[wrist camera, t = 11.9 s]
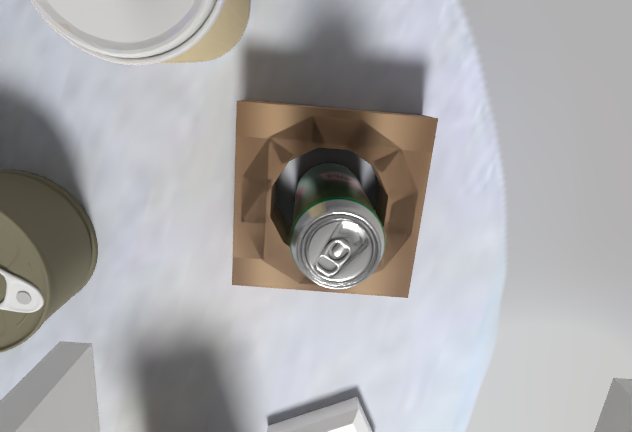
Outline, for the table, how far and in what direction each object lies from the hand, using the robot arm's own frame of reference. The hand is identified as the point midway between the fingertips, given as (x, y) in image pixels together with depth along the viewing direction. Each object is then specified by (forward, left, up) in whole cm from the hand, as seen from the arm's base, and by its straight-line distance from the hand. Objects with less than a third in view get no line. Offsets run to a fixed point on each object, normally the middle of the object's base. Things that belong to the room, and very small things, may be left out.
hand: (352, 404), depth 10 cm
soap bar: (+2, -23, -23) cm, 33 cm away
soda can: (0, 0, -23) cm, 23 cm away
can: (-24, -6, -23) cm, 34 cm away
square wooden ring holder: (0, 0, -23) cm, 23 cm away
